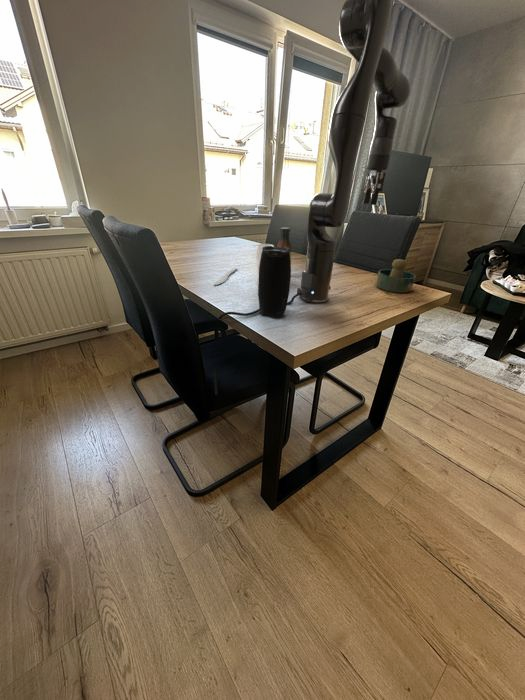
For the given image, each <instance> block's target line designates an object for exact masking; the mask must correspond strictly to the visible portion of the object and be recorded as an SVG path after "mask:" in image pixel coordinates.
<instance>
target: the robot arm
mask: <svg viewBox="0 0 525 700" xmlns="http://www.w3.org/2000/svg"><path fill="white" fill-rule="evenodd" d="M392 6H393V0H344V3H343V4H342V7H341V10H340V15H339V22H338V23H339V25H338V29H339V30H338V32H339V37H340V41H341V43H342V45H343V47H344V49H345V50H346V51H347V52H348V53H349V54H350V55H351V57H353V59H354V60H355V61H356V63H358V64H357V66H356V69H355V70H354V72H353V74H352V76H351V78H350V79H349V81H348V82H347V84H346V85H345V86H344V88H343V90H342V92H341V94H340V95H339V97H338V98H337V100H336V102H335V103H334V106H333V108H332V112H331V117H330V122H329V127H328V128H329V129H328V133H327V145H328V148H329V153H330V156H331V157H330V158H331V159H332V162H333V166H334V170H335V172H334V173H335V182H334V183H335V184H334V190H333V193H330V192H329V193H327V192H318V193H316V194H315V195H313V197H312V198H311V200H310V203H309V206H308V215H307V229H306V240H307V248H306V257H305V265H304V270H302V271H301V279H300V287H297V288H296V294H294V295H293V296H292V297H291V298H290V300H289V301H287V306H288V305H289V306H290V304H293V302H294V301H295V298H297V297H299V298H300V299H302V300H304V301H306V302H307V303H314V304H315V303H316V304H317V303H318V304H319V303H325V302H328V299H329V293H330V292H329V291H330V290H331V280H332V275H333V268H334V261H335V256H336V249H337V240H336V239H335V238H334V237H332V236H330V235H329V233H328V232H327V230H326V228H333V229H338V228H341V227H342V226H343V224H344V223H345V221H346V218H347V216H348V212H349V206H350V199H351V193H352V187H353V181H354V172H355V168H356V163H357V158H358V154H359V149H360V144H361V141H362V136H363V133H364V128H365V124H366V119H367V113H368V109H369V103H370V98H371V94H372V89H373V88H374V90H375V95H374V106H375V120H374V121H375V122H374V129H373V135H372V139H371V143H370V147H369V151H368V155H367V156H368V157H367V161H366V166H365V167H366V170H368V171H370V172H369V173H366V175H365V181H364V186H363V192H364V197H363V204H366V205H370V206H376V205H377V204H378V197H379V195H380V193H381V192H383V188H384V183H385V178H386V172H383V171H387V170H388V168H389V163H390V159H391V155H392V150H393V145H394V138H395V133H396V129H397V125H398V124H397V123H398V120H397V118H396V117H394V116H391V115H386V110H387V109H389V110H390V109H396V108H401V107H403V106H404V105H405V104H406V103H407V101H408V99H409V98H410V93H411V84H410V80H409V79H408V77H407V76H406V75H405V74H404V73H403V72H402V71H401V70H400V69H398V66H397V62H396V60H395V57H394V56H393V53H391V51H390V50H389V49H388V48H386V47H385V46H384V45H385V41H386V37H387V34H388V30H389V25H390V21H391V14H392ZM257 313H260V307H259V308H258V309H256V310H253V311H250V312H246V313H244V312H236V311H225V312H223V313H221V314H220V315H219V316H218V317H217V320H220V319H222V318H223V317H225V316H229V315H235V316H239V317H248V316H252V315H255V314H257ZM212 372H213V373H212V376H213V384H214V385H213V386H214V396H215V395H217V394H218V384H217V383H218V382H217V371H216V370H214V371H212Z"/></svg>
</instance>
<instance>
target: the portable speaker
mask: <svg viewBox="0 0 525 700" xmlns="http://www.w3.org/2000/svg"><path fill="white" fill-rule="evenodd" d="M262 250H263V251H262V254H261V260H260V265H259V281H258V283H257V285H258V286H257V287H258V288H257V297H258V298H257V299H258V304H259V305H258V306H259V308H260V311H259V314H260V315H261V316H264V317H265V316H266V315H268V316H273V318H275V319H278V318H282V317H283V316H285V313H286V310H287V307H288V305H287V303H288V302H289V297H290V289H291V276H292V261H291V262H290V249H289V248H287V247H282V248H277V247H275V246H274V247H272V246H265V247H263V249H262Z"/></svg>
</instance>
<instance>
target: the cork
mask: <svg viewBox="0 0 525 700" xmlns="http://www.w3.org/2000/svg"><path fill="white" fill-rule="evenodd" d="M407 264H408V262H407V260H405V259H401V258H397V259H394V260H393V262H392V263H391V265H392V271H391V274H390V276H391V277H396V278H403V271H405V268H406V267H407Z"/></svg>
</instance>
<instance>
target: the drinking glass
mask: <svg viewBox="0 0 525 700" xmlns="http://www.w3.org/2000/svg"><path fill="white" fill-rule="evenodd" d="M265 246H272V247H275V245H274V244H270V243H259V244H256V249H255V250H256V252H255V253H256V255H255V256H256V274H257V275H256V278H257V284H258V281H259V265H260V260H261V254H262V251H263V250H262V249H263V247H265Z"/></svg>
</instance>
